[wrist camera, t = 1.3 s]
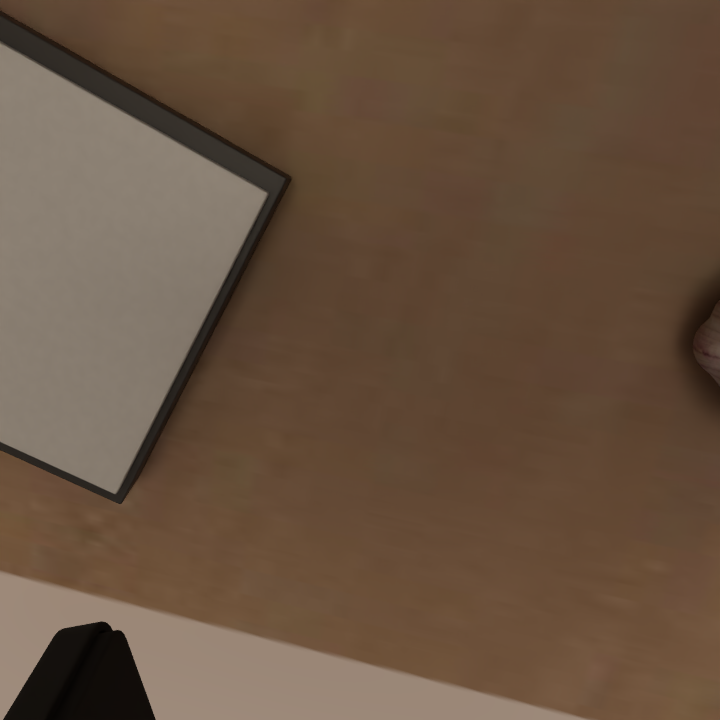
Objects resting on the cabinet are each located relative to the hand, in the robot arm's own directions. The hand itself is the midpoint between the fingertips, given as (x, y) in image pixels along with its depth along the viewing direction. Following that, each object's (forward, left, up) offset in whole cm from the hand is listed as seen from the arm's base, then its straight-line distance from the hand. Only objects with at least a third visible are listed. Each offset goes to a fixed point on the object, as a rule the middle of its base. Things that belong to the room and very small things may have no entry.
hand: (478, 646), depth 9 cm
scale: (+4, -13, -18) cm, 23 cm away
